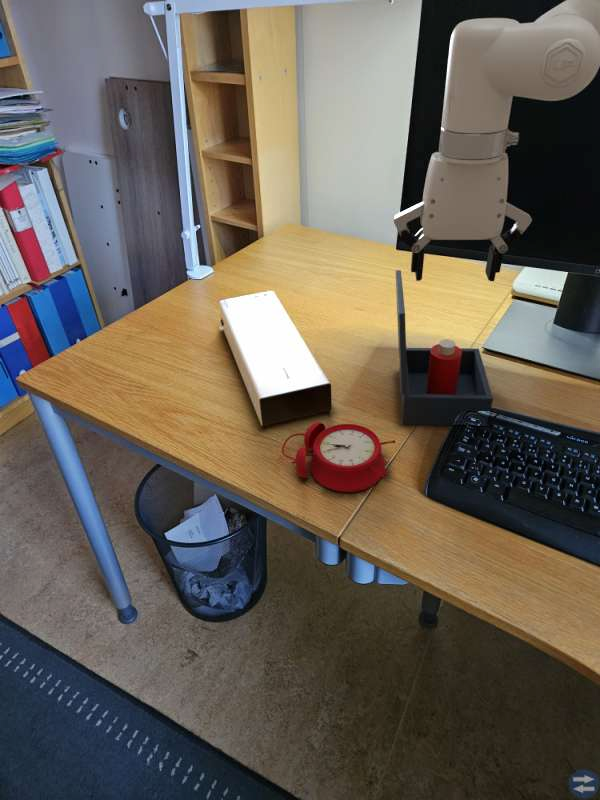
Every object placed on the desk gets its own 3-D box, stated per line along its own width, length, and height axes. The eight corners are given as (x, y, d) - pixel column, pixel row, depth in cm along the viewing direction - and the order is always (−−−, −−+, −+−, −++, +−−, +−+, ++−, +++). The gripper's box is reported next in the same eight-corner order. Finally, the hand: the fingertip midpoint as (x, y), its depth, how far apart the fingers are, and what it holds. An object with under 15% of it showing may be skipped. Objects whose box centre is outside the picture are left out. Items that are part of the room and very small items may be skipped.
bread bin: (474, 375, 94) (478, 348, 91) (487, 426, 84) (493, 398, 81) (398, 373, 96) (400, 347, 93) (402, 424, 85) (404, 396, 82)
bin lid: (400, 269, 84) (395, 270, 85) (405, 313, 74) (398, 313, 74) (403, 345, 92) (398, 345, 92) (407, 394, 82) (401, 394, 82)
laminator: (332, 415, 88) (331, 383, 84) (256, 433, 85) (252, 400, 82) (276, 317, 114) (273, 289, 110) (216, 328, 112) (212, 300, 108)
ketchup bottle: (453, 386, 91) (461, 335, 85) (457, 403, 87) (464, 351, 81) (425, 385, 91) (430, 335, 86) (427, 403, 88) (432, 351, 82)
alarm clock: (386, 482, 71) (276, 443, 73) (374, 512, 75) (269, 474, 77) (400, 430, 78) (300, 396, 80) (388, 460, 83) (293, 427, 84)
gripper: (539, 135, 69) (512, 265, 79) (397, 138, 70) (389, 265, 81) (555, 150, 63) (524, 289, 73) (399, 153, 65) (391, 288, 75)
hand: (453, 276), depth 77 cm, fingers open, 9 cm apart
